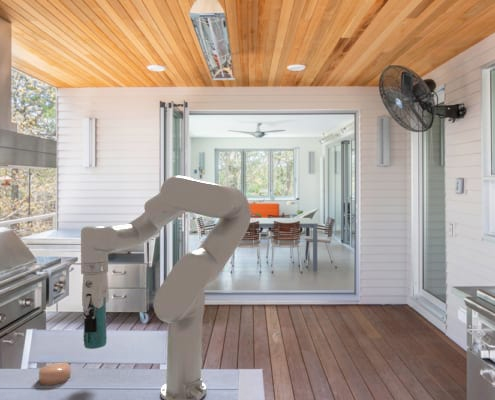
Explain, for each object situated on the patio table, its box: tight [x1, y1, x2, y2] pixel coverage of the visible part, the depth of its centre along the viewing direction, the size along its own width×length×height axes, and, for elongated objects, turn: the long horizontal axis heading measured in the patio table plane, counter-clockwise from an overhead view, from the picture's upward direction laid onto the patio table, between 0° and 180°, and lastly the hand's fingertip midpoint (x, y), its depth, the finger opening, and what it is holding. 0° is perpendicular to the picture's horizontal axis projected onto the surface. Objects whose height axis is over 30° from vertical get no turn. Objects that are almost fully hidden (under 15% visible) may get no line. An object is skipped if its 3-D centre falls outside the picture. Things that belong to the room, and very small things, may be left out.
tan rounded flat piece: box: [38, 362, 72, 386], centre depth 119 cm, size 8×8×3 cm
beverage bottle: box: [83, 283, 108, 350], centre depth 119 cm, size 6×7×20 cm
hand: (95, 327), depth 119 cm, fingers closed on beverage bottle, 6 cm apart
